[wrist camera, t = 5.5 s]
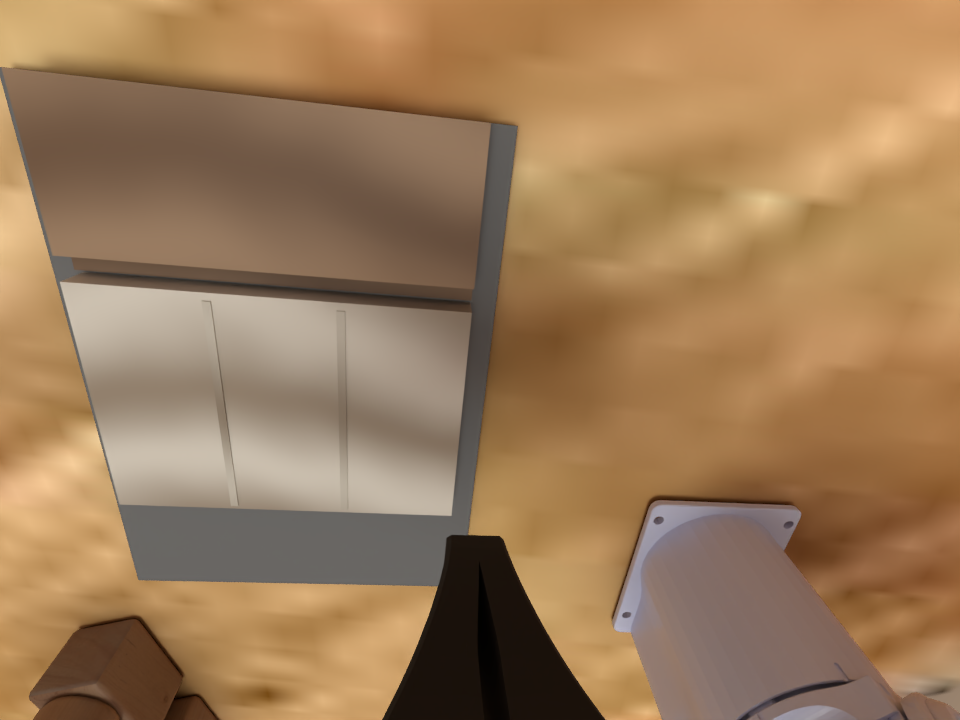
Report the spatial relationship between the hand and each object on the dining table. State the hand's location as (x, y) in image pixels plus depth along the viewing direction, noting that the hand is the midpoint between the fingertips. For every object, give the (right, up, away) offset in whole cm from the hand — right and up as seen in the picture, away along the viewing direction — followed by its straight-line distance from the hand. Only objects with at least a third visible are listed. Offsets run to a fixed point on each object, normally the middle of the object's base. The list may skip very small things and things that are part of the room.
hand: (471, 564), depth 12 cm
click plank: (-8, +3, +8) cm, 12 cm away
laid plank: (-7, +11, +5) cm, 14 cm away
